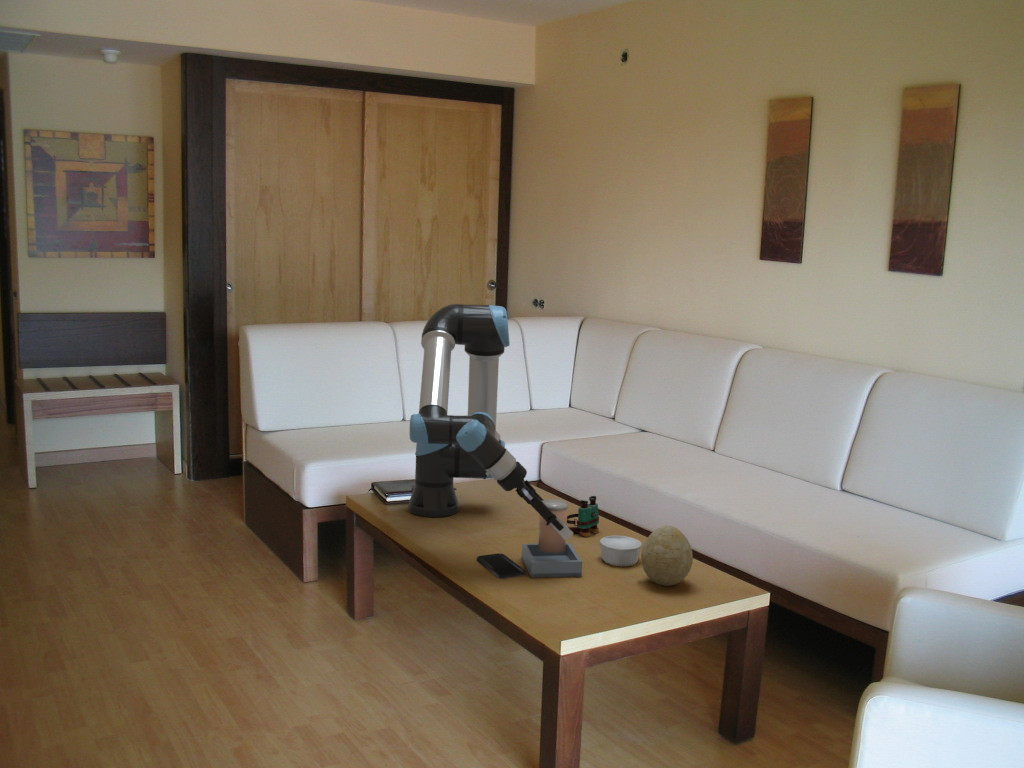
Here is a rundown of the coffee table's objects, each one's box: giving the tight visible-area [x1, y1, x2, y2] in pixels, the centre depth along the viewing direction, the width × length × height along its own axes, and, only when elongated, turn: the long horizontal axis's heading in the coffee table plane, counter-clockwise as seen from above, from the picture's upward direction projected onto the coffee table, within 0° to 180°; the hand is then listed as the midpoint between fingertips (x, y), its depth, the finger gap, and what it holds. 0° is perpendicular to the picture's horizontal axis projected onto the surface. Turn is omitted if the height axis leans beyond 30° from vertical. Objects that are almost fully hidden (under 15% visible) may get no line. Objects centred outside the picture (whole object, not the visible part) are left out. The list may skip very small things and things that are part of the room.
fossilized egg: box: [640, 525, 694, 587], centre depth 237 cm, size 13×13×15 cm
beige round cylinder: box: [537, 498, 568, 553], centre depth 244 cm, size 7×7×12 cm
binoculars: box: [567, 495, 600, 538], centre depth 275 cm, size 9×11×10 cm
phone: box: [476, 553, 526, 580], centre depth 245 cm, size 8×1×15 cm
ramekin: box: [599, 535, 643, 567], centre depth 253 cm, size 11×11×5 cm
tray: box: [521, 542, 583, 579], centre depth 246 cm, size 14×13×4 cm
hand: (566, 531), depth 245 cm, fingers closed on beige round cylinder, 7 cm apart
